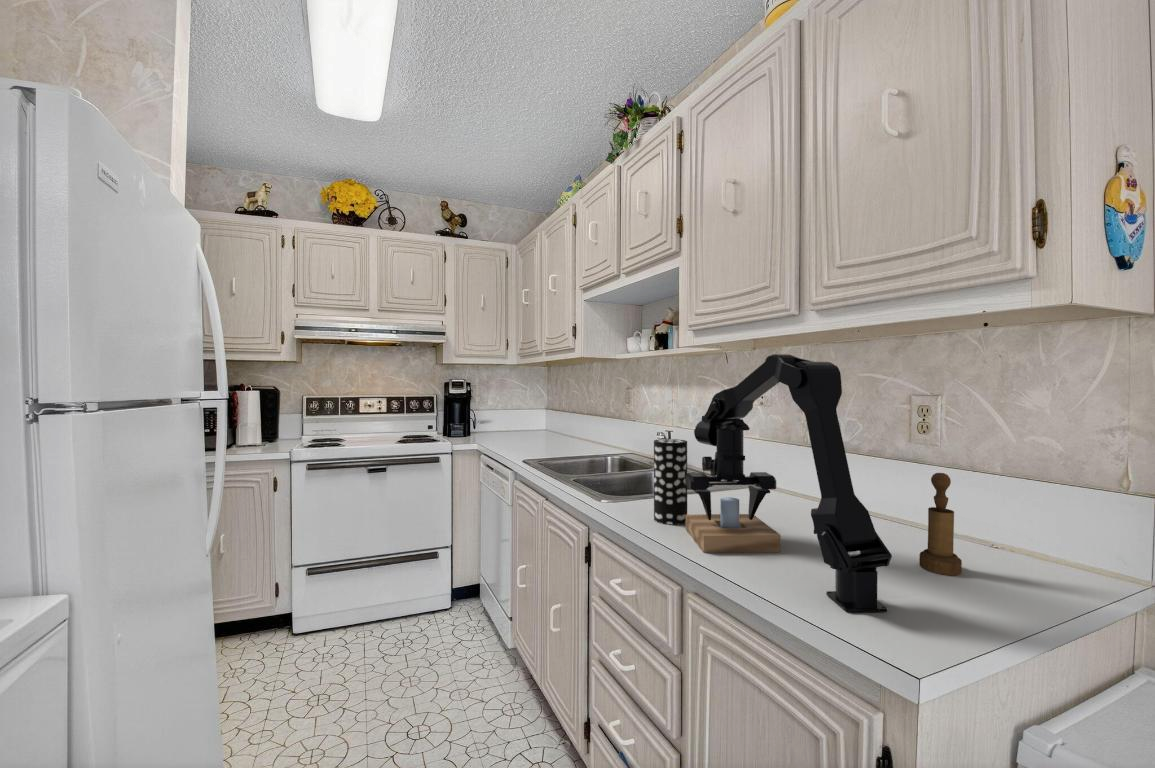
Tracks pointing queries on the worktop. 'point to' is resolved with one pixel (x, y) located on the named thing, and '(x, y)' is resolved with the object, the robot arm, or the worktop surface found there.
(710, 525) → the socket board
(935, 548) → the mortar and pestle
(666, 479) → the spotted tube
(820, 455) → the robot arm
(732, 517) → the peg
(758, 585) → the worktop surface
